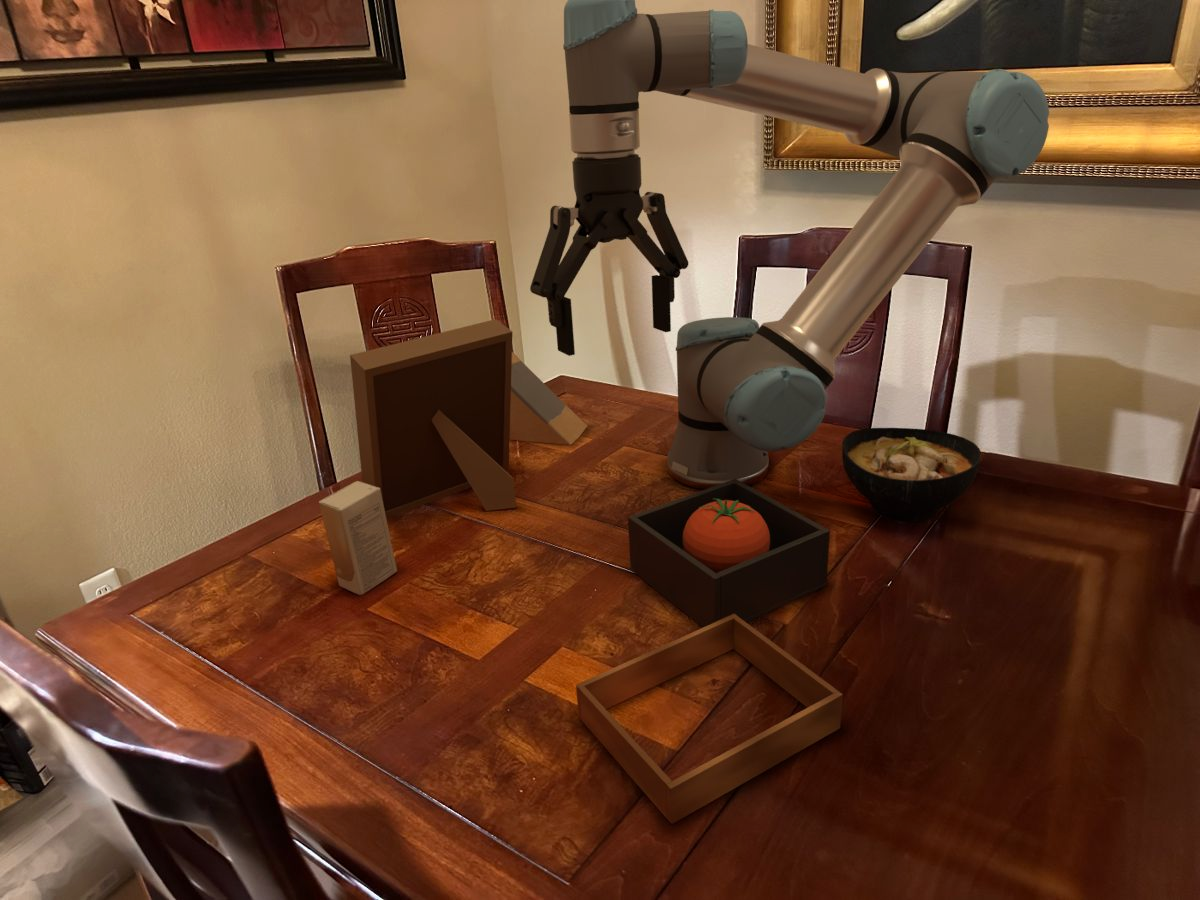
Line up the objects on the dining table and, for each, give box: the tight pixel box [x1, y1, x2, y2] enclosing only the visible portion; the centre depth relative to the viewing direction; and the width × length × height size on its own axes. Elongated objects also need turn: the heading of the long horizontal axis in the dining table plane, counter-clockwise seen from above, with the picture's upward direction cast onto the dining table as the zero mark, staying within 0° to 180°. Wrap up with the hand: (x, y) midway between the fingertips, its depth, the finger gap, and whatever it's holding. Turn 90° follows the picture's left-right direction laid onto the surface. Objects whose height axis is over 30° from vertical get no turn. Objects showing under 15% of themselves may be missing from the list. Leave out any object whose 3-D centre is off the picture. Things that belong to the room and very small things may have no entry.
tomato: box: [683, 499, 770, 573], centre depth 99 cm, size 10×10×10 cm
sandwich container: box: [510, 351, 588, 446], centre depth 142 cm, size 9×15×15 cm, turn 71°
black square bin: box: [627, 479, 831, 628], centre depth 100 cm, size 17×17×8 cm
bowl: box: [841, 427, 982, 523], centre depth 112 cm, size 17×17×10 cm
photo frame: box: [349, 318, 517, 519], centre depth 117 cm, size 15×22×25 cm
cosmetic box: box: [318, 480, 398, 596], centre depth 103 cm, size 6×4×12 cm
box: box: [575, 614, 844, 825], centre depth 78 cm, size 19×15×4 cm
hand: (615, 341), depth 101 cm, fingers open, 13 cm apart
